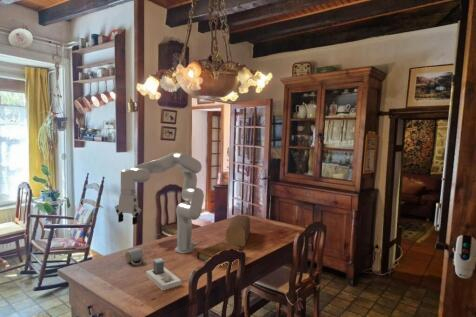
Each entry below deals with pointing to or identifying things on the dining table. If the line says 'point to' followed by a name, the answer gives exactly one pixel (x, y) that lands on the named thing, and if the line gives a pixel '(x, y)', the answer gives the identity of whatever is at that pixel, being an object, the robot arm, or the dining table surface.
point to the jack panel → (164, 279)
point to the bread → (238, 231)
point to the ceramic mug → (134, 256)
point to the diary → (215, 250)
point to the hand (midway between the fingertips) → (127, 222)
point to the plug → (158, 266)
